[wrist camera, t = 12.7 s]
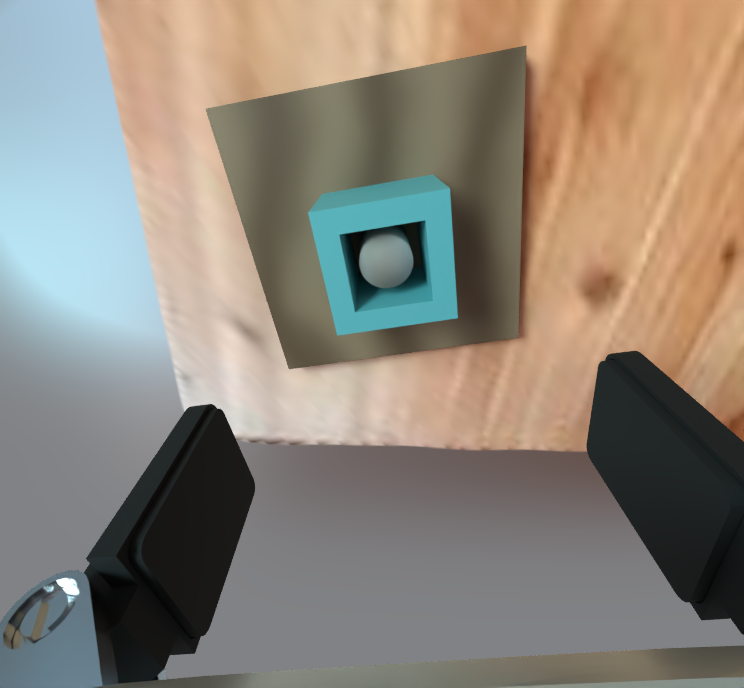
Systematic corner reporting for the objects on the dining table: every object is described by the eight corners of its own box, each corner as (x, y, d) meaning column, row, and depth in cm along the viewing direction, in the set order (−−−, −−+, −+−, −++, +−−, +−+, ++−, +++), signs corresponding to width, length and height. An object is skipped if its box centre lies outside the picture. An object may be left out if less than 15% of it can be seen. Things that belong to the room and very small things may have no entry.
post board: (517, 50, 22) (567, 24, 16) (512, 328, 31) (543, 374, 25) (214, 109, 23) (164, 104, 18) (292, 359, 32) (275, 409, 26)
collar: (433, 174, 24) (449, 188, 19) (441, 281, 27) (457, 318, 22) (322, 193, 24) (308, 212, 19) (344, 295, 28) (337, 335, 23)
